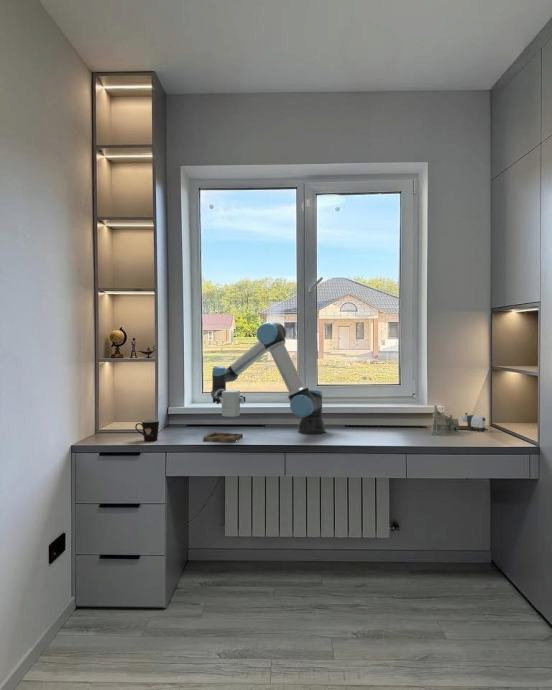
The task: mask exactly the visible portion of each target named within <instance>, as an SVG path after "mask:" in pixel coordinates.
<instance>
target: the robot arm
mask: <svg viewBox="0 0 552 690" xmlns="http://www.w3.org/2000/svg"><path fill="white" fill-rule="evenodd" d="M286 336H287V330H286V328H285V326H284V325H282V324H281V323H280V322H272V321H267V322H264V323H261V324H260V325H259V326H258V327H257V330H256V338H257V340H258V341H257V342H256V343H255V344H253V346H252V347H250V348H249V349H248V350H247V351H246V352H245V353H243V354H242V355H241V356H240V357H239V358H237V359H236V360H235V361H234V362H232V363H231V364H230V365H229V366H228V367H227V368H226V367H225V366H213V367H212V374H211V375H212V376H211V378H212V384H211V385H212V387H211V391H210V396H211V398H212V403H214V404H215V403H216V405H219V404H220V405H221V406H222V405H223V399H222V392H223V391H227V383H231V382H235V381H236V380H238V377H239V376H240V375H241V374H243V372H245V371H246V370H247V369H249V367H250V366H252V365H253V364H254V363H255V362H257V361H258V360H259V359H260V358H261V357H262V356H264V355H265V354H266V353H267V352H269V353H270V356H271V357H272V359H273V361H274V363H275V365H276V367H277V369H278V371H279V374H280V376H281V378H282V380H283V383H284V384H285V387H286V389H287V391H288V395H287V398H288V400H289V402H290V404H289V408H290V410H291V413H293V414H294V415H295V416H296V417H300V420H299V422H298V425H297V426H298V427H297V432H298V433H300V434H307V435H308V434H309V435H313V434H317V435H319V434H324V433H326V426H325V423H324V419H323V391H322V390H319V389H309V386H306V385H304V383H303V381H302V379H301V377H300V375H299V373H298V371H297V369H296V366H295V364H294V362H293V360H292V358H291V356H290V354H289V352H288V350H287V347H286V346H285V345H286V341H287V340H286ZM245 402H246V396H244V395H240V404H242V405H244V404H245Z"/></svg>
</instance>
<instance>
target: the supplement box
mask: <svg viewBox="0 0 552 690" xmlns="http://www.w3.org/2000/svg"><path fill="white" fill-rule="evenodd" d="M226 390H227V389H226ZM240 396H241V391H240V390H227V391H223V392H222V399H223V405H222V404H221V416H222V417H230V418H232V417H238V416H240V415H241V403H240Z"/></svg>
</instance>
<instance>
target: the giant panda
mask: <svg viewBox="0 0 552 690" xmlns="http://www.w3.org/2000/svg"><path fill="white" fill-rule="evenodd" d="M459 420H461V421H462V422H465V423H466V424H467V429H466V431H469V432H470V431H471V432H472V431H474V430H475V428H478V430H477V432H478V433H479V432H480V433H482V432H485V430H486V424H487V423H486V421H487V420H486V417H484V416H483V415H479V414H474V415H473V414H469V415H468V412H465V413H463V414H462V415H461V416H459Z"/></svg>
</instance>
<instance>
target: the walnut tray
mask: <svg viewBox="0 0 552 690" xmlns="http://www.w3.org/2000/svg"><path fill="white" fill-rule="evenodd" d="M242 437H243V438H244V434H243V433H233V432H217V431H216V432H213V433H209V434H208V435H205V436H203V442H209V441H211V442H212V443H228V442H234V443H236V442H237V441H236V440H238V439H239V440H241V439H243V438H242ZM240 438H241V439H240ZM239 440H238V441H239ZM235 441H236V442H235Z"/></svg>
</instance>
